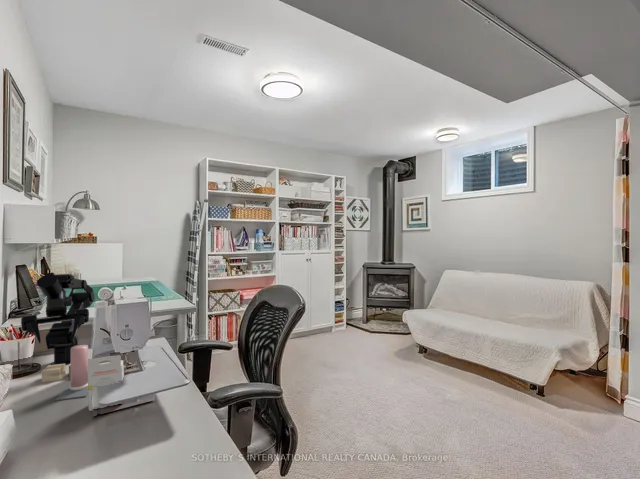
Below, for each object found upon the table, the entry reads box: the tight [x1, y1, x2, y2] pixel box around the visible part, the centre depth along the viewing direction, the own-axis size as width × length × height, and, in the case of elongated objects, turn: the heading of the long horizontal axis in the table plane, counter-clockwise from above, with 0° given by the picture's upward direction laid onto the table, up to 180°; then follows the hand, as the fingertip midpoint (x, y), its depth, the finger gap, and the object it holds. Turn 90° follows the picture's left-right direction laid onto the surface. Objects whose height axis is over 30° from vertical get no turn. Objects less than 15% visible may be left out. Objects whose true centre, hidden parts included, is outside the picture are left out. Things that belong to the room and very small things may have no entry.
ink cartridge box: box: [87, 354, 125, 412], centre depth 97 cm, size 9×5×15 cm, turn 115°
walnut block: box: [68, 358, 90, 378], centre depth 119 cm, size 6×4×4 cm, turn 11°
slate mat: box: [54, 382, 88, 402], centre depth 107 cm, size 14×8×1 cm, turn 18°
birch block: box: [41, 364, 66, 383], centre depth 115 cm, size 5×5×4 cm
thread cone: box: [69, 344, 89, 391], centre depth 107 cm, size 5×5×13 cm
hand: (57, 340), depth 114 cm, fingers open, 9 cm apart
